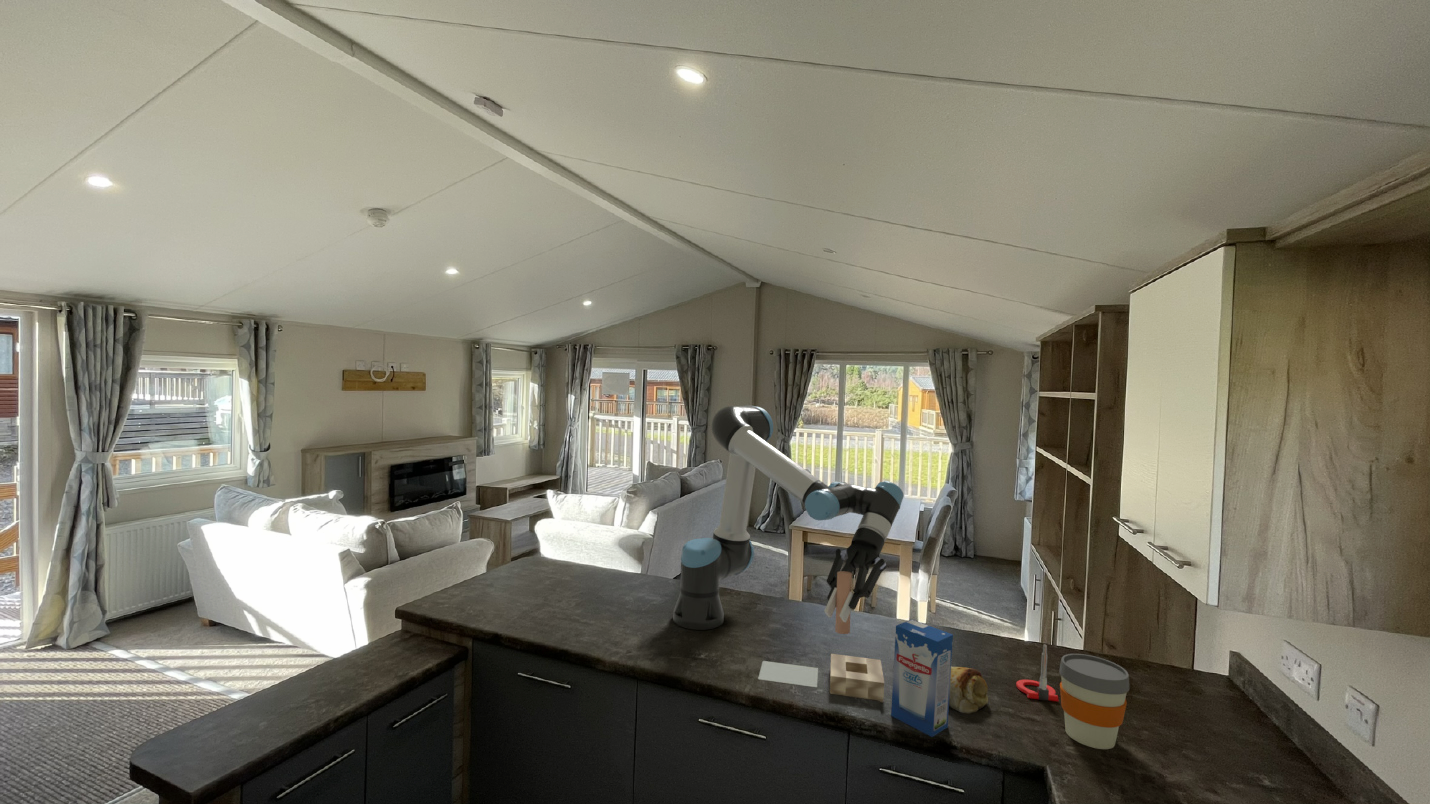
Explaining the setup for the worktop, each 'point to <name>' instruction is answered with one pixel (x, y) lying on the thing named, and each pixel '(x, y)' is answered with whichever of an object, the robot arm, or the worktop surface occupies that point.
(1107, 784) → the worktop surface
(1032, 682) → the tow hook
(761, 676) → the mat
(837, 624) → the peg
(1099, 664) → the reusable coffee cup
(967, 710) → the pastry
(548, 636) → the worktop surface
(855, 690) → the hole block
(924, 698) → the milk carton
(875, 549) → the robot arm
